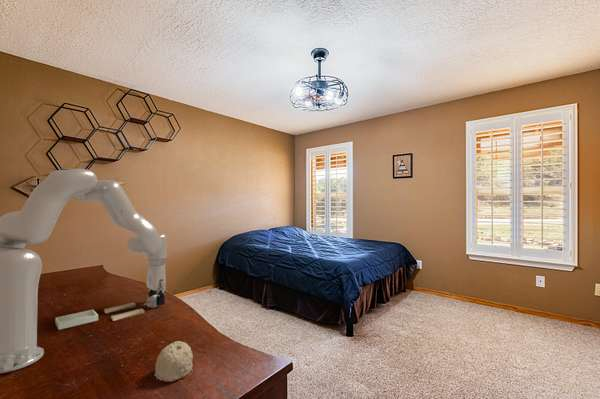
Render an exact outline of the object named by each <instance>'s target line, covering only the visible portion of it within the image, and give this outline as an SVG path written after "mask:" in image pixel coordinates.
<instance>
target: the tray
mask: <svg viewBox="0 0 600 399" xmlns="http://www.w3.org/2000/svg"><path fill="white" fill-rule="evenodd" d="M97 321H99V314H98V313H97V312H96V311H95V310H94V309H89V310H85V311H80V312H76V313H70V314H66V315H62V316H57V317H55V321H54V322H55V326H56V328H57V329H58V330H59V331H60V330H64V329H67V328H72V327H76V326H80V325H85V324H88V323H89V324H90V323H92V322H97Z"/></svg>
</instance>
